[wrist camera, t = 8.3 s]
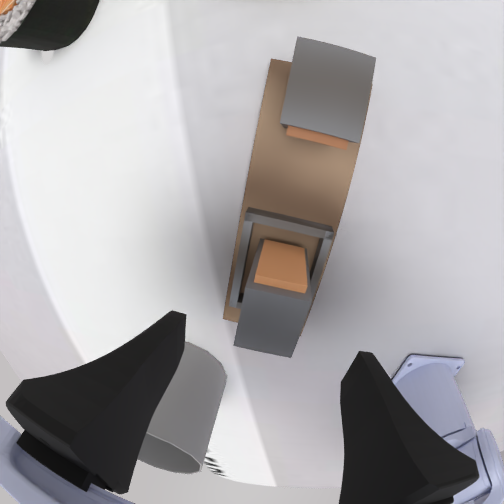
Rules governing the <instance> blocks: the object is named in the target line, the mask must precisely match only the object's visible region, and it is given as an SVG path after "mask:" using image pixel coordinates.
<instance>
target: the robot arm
mask: <svg viewBox="0 0 504 504" xmlns="http://www.w3.org/2000/svg"><path fill="white" fill-rule="evenodd" d="M185 327H186V314H183V313H179V312H176V311H170V312H169V313H167V314H166V315H165V316H164V317H162V318H161V319H160V320H158V321H157V322H156V323H154V324H153V325H152V326H150V327H149V328H148V329H146V330H145V331H143V332H142V333H141V334H139V335H138V336H136V337H135V338H133V339H132V340H130V341H129V342H127V343H125V344H124V345H122V346H121V347H119V348H117V349H116V350H114V351H112V352H110V353H108V354H107V355H105V356H103V357H100V358H98V359H96V360H94V361H92V362H89V363H87V364H85V365H82V366H79V367H77V368H74V369H71V370H68V371H65V372H61V373H57V374H54V375H49V376H45V377H39V378H33V379H26V380H23V381H22V382H21V384H20V385H19V386H18V387H17V388H16V390H15V391H14V392H13V394H12V395H11V396H10V397H9V398H8V400H7V401H6V406H7V408H8V410H9V411H10V413H11V414H12V415H13V417H14V418H15V419H16V420H17V422H18V423H19V424H20V425H21V426H22V427H23V429H25V430H24V432H23V433H22V435H21V434H20V433H19V432H18V431H17V430H16V429H15V428H14V427H13V426H12V425H10V424H9V423H8V422H7V421H6V420H5V419H4V418H2V417H1V416H0V485H1V486H2V487H3V488H4V489H5V490H6V491H7V492H8V493H9V494H10V495H11V496H12V497H13V498H14V499H15V500H16V501H17V502H18V503H19V504H135V503H132V502H130V501H128V500H125V499H123V498H121V497H118V496H116V495H114V494H112V493H110V492H108V491H106V490H105V489H107V490H109V491H111V492H116V493H118V494H124V493H127V492H128V490H129V486H130V482H131V478H132V475H133V471H134V467H135V465H136V461H137V458H138V455H139V452H140V449H141V446H142V443H143V440H144V438H145V435H146V432H147V429H148V427H149V424H150V422H151V419H152V417H153V414H154V412H155V410H156V408H157V406H158V404H159V402H160V401H161V399H162V397H163V395H164V393H165V391H166V389H167V387H168V386H169V384H170V382H171V380H172V378H173V376H174V374H175V372H176V370H177V368H178V365H179V363H180V360H181V358H182V355H183V352H184V348H185ZM464 363H465V361H464V359H460V358H444V357H431V356H420V355H411V356H409V357H408V358H407V360H406V361H405V363H404V364H403V365H402V367H401V368H400V370H399V371H398V373H397V374H396V375H395V377H394V378H393V379H392V380H391V379H390V377H389V376H388V375H387V373H386V372H385V370H384V369H383V367H382V366H381V364H380V363H379V362H378V360H377V359H376V357H375V356H374V355H373V353H370V352H363V351H359V352H358V354H357V356H356V358H355V359H354V361H353V363H352V365H351V366H350V368H349V370H348V371H347V373H346V375H345V376H344V378H343V379H342V381H341V393H340V405H341V415H342V425H343V436H344V470H343V479H342V488H341V494H340V500H339V504H502V502H503V501H504V465H503V461H502V458H501V454H500V451H499V448H498V446H497V443H496V441H495V438H494V436H493V434H492V432H491V430H489V429H484V428H481V429H480V430H479V431H477V430H476V429H475V427H474V424H473V422H472V419H471V416H470V414H469V411H468V409H467V406H466V404H465V401H464V399H463V397H462V394H461V392H460V390H459V387H458V385H457V383H456V381H455V379H454V376H455V375H456V374H457V373H458V371H459V370H460V369H461V367H462V366H463V365H464ZM479 496H480V497H479ZM477 497H478V498H477ZM475 498H476V499H475Z"/></svg>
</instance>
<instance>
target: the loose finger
mask: <svg viewBox="0 0 504 504" xmlns="http://www.w3.org/2000/svg"><path fill="white" fill-rule="evenodd" d="M311 303H312V296H311V285H310V274H309V264H308V255H307V249H306V248H302V247H297V246H293V245H288V244H284V243H280V242H275V241H271V240H266V239H261V238H260V241H259V244H258V247H257V251H256V254H255V257H254V260H253V264H252V267H251V270H250V274H249V277H248V280H247V283H246V287H245V291H244V296H243V301H242V306H241V311H240V316H239V321H238V326H237V331H236V336H235V341H234V346H237V347H241V348H246V349H250V350H255V351H259V352H264V353H269V354H274V355H279V356H284V357H289V358H291V357H292V354H293V351H294V349H295V346H296V344H297V341H298V339H299V336H300V333H301V331H302V328H303V325H304V323H305V320H306V317H307V315H308V312H309V309H310V306H311Z"/></svg>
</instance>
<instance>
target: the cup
mask: <svg viewBox="0 0 504 504" xmlns="http://www.w3.org/2000/svg"><path fill="white" fill-rule="evenodd" d="M226 379H227V375H226V373H225V371H224V369H223V366H222V364H221V363H220V362H219V361H218V360H217V359H216V358H214V357H213V356H212V355H211V354H210V353H209V352H208V351H206V350H204V349H202V348H200V347H197V346H195V345H193V344H191V343H189V342H185V348H184V352H183V355H182V358H181V360H180V363H179V365H178V368H177V370H176V372H175V374H174V376H173V378H172V380H171V382H170V384H169V386H168V387H167V389H166V391H165V393H164V395H163V397H162V399H161V401H160V402H159V404H158V406H157V408H156V410H155V412H154V414H153V417H152V419H151V422H150V424H149V427H148V429H147V432H146V435H145V438H144V440H143V443H142V446H141V449H140V452H139V455H138V458H137V459H138V460H140V461H142V462H145V463H147V464H149V465H152V466H154V467H156V468H160V469H164V470H167V471H170V472H175V473H185V474H193V473H197V472H201V469H202V465H203V462H204V458H205V455H206V451H207V448H208V444H209V441H210V437H211V434H212V430H213V427H214V423H215V420H216V416H217V413H218V409H219V405H220V402H221V398H222V395H223V391H224V387H225V383H226Z"/></svg>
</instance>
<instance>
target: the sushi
mask: <svg viewBox="0 0 504 504" xmlns="http://www.w3.org/2000/svg"><path fill="white" fill-rule="evenodd" d="M98 2H99V0H0V47H15V48H26V49H35V50H43V51H49V50H56V49H59V48H62V47H65V46H68V45H69V44H71V43H72V42H73V41H75V40H76V39H77V38H78V37H79V36H80V34H81V33H82V32H83V31H84V30H85V29H86V27H87V25H88V24H89V22H90V21H91V19H92V16H93V14H94V12H95V10H96V7H97V5H98Z"/></svg>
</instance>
